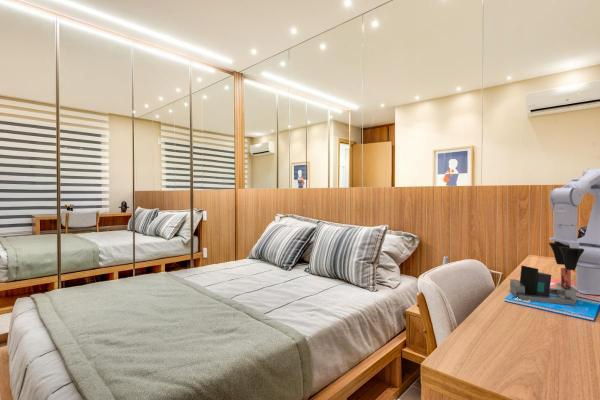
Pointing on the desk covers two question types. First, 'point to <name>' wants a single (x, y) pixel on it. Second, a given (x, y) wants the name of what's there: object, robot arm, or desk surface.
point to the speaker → (535, 281)
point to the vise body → (519, 292)
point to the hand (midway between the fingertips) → (565, 267)
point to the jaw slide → (565, 286)
